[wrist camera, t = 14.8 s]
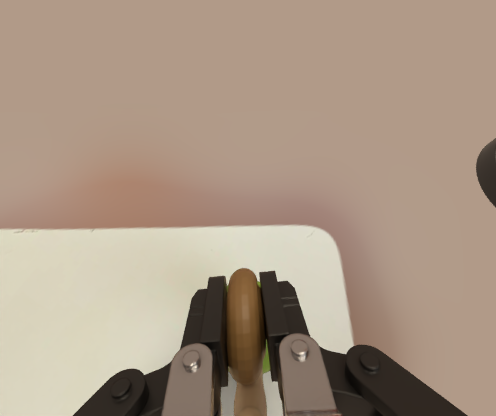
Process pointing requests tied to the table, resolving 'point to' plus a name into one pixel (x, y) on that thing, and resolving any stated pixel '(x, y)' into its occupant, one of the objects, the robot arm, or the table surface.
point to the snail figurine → (247, 343)
